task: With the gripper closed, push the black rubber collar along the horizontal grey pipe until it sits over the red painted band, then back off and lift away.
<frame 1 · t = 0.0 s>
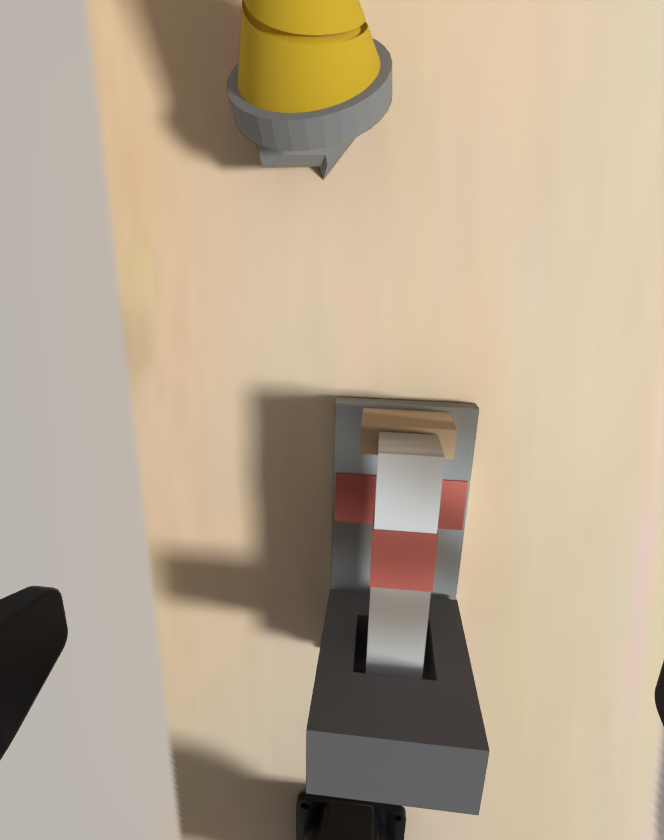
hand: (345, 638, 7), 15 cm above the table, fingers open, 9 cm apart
collar: (391, 683, 20), point 5 cm above the table, slide at 0.0 cm
yellow cone: (306, 82, 18), on the table
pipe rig: (395, 539, 23), on the table
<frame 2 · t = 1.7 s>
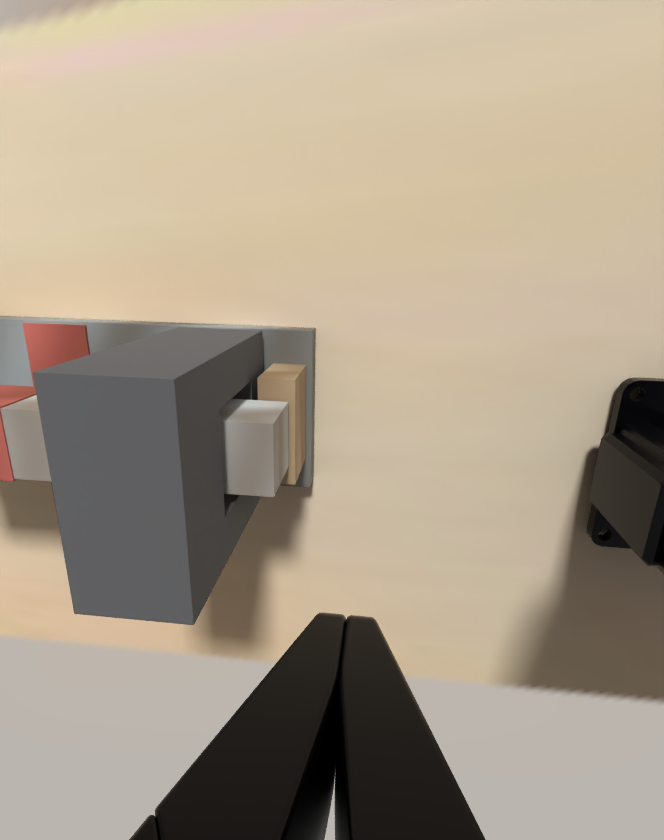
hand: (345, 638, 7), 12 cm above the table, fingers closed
collar: (184, 447, 14), point 5 cm above the table, slide at 0.0 cm
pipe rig: (139, 397, 19), on the table
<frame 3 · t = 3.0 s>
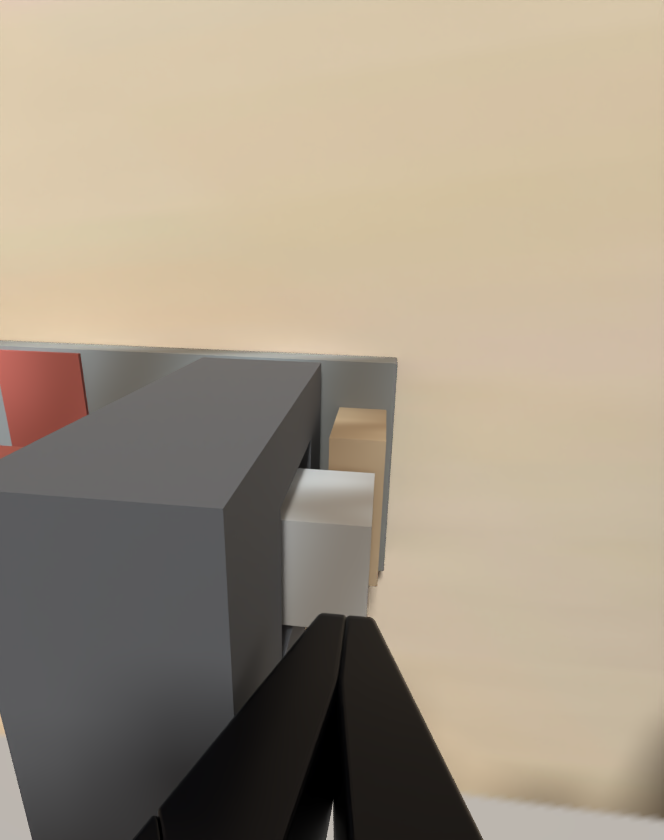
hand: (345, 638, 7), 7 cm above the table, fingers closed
collar: (217, 549, 9), point 5 cm above the table, slide at 0.2 cm, touching gripper
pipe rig: (151, 447, 14), on the table
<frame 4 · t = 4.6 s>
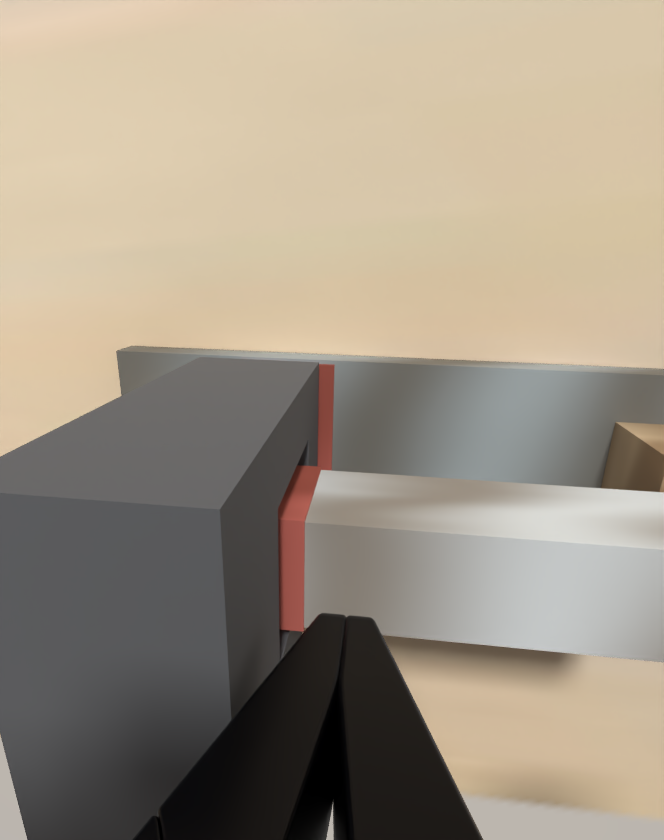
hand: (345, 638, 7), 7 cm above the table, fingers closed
collar: (214, 549, 9), point 5 cm above the table, slide at 7.0 cm, touching gripper
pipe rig: (380, 462, 13), on the table
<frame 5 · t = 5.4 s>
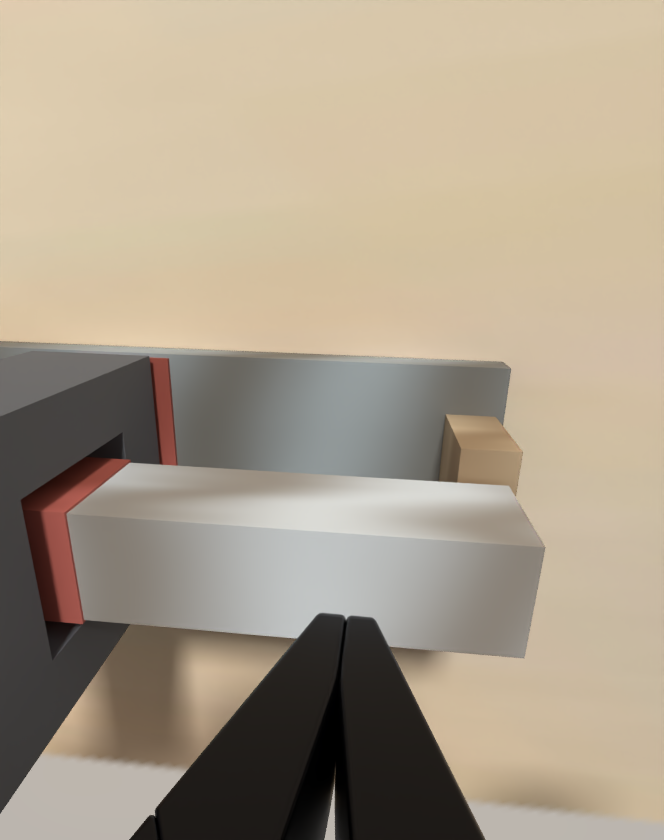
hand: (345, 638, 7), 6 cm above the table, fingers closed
collar: (1, 542, 9), point 5 cm above the table, slide at 7.0 cm
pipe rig: (233, 456, 13), on the table
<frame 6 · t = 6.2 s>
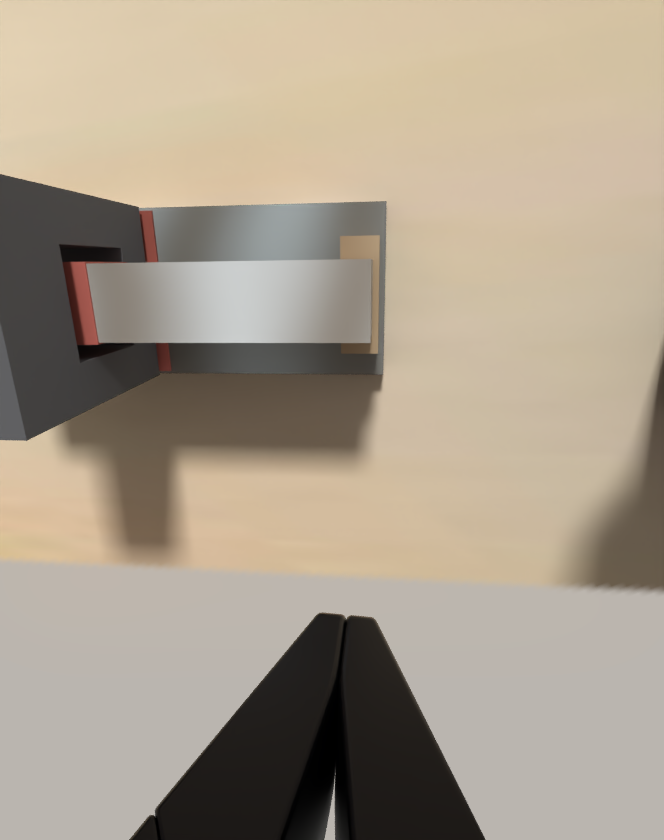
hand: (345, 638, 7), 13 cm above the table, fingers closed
collar: (45, 303, 14), point 5 cm above the table, slide at 7.0 cm
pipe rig: (203, 293, 19), on the table
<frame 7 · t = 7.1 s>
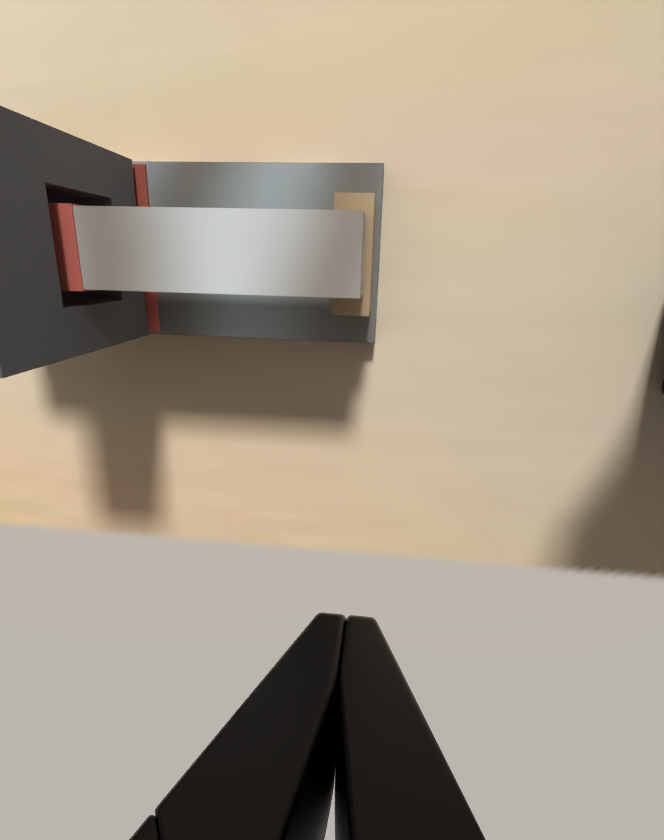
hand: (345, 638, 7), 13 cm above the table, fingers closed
collar: (30, 247, 14), point 5 cm above the table, slide at 7.0 cm
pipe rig: (195, 253, 18), on the table
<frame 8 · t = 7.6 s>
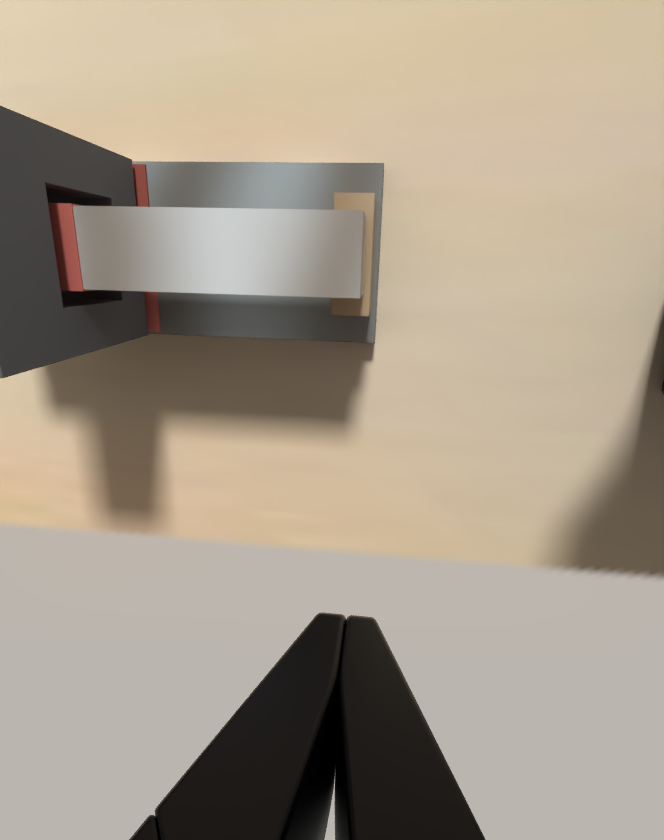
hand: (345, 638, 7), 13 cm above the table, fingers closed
collar: (30, 247, 14), point 5 cm above the table, slide at 7.0 cm
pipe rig: (195, 253, 18), on the table
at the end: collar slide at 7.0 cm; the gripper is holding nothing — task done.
